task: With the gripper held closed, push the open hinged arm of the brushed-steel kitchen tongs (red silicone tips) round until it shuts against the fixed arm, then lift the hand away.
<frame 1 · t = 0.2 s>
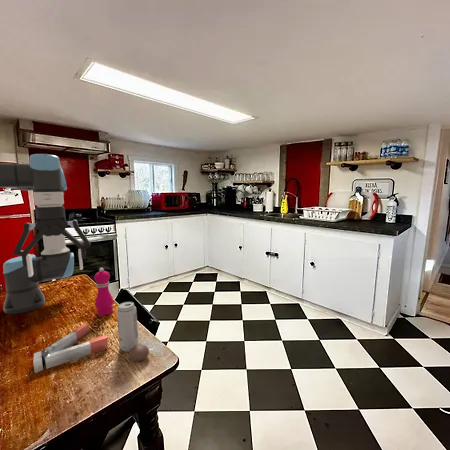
hand: (57, 272, 81), 27 cm above the table, fingers open, 13 cm apart
pepper mill: (105, 312, 110), on the table
egg: (139, 359, 79), on the table
energy drink can: (129, 347, 85), on the table
tongs arm: (67, 341, 86), point 2 cm above the table, hinge at 38.0°
tongs fixed: (46, 364, 77), on the table
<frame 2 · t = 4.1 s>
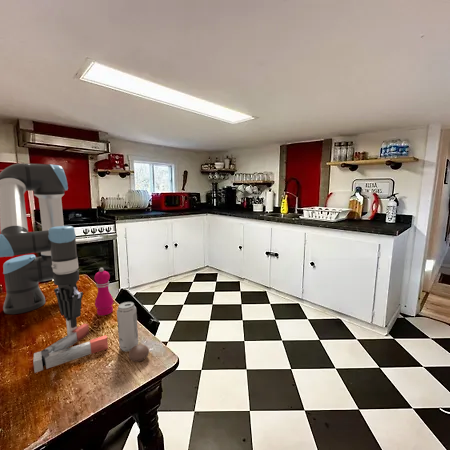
hand: (72, 334, 90), 2 cm above the table, fingers closed
tongs arm: (67, 341, 86), point 2 cm above the table, hinge at 38.0°, touching gripper
everything else where it was.
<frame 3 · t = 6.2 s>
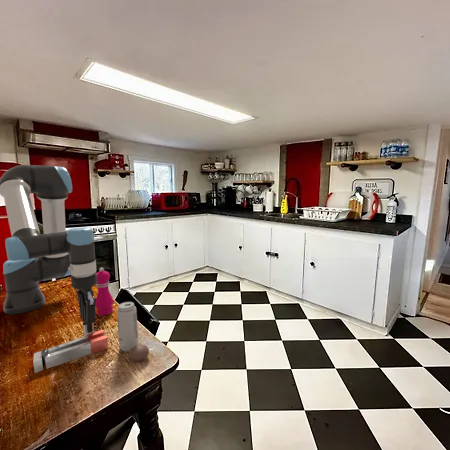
hand: (89, 339, 88), 1 cm above the table, fingers closed
tongs arm: (78, 344, 84), point 2 cm above the table, hinge at 4.7°, touching gripper
everything else where it was.
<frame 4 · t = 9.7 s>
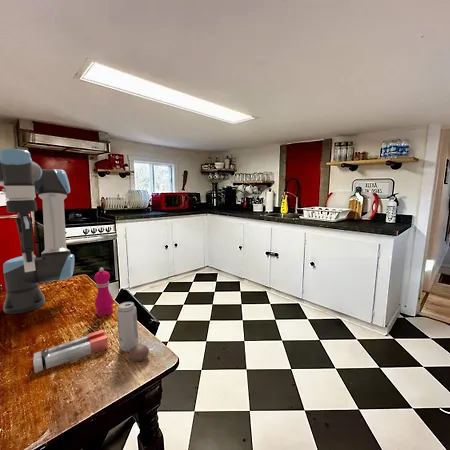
hand: (30, 270, 84), 26 cm above the table, fingers closed
tongs arm: (78, 344, 84), point 2 cm above the table, hinge at 4.7°
everything else where it was.
at the end: tongs arm at +5° (first picture: +38°); tongs arm touching nothing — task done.
